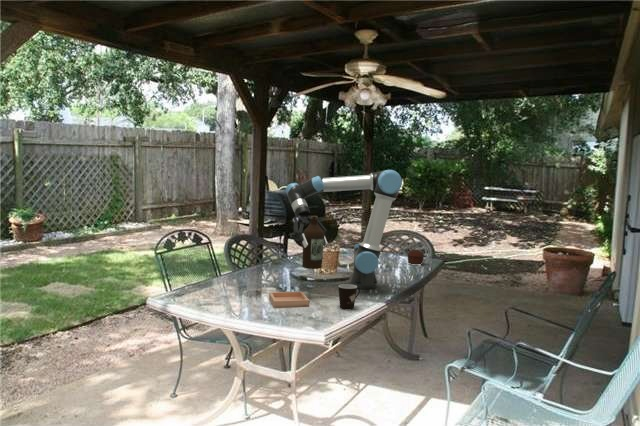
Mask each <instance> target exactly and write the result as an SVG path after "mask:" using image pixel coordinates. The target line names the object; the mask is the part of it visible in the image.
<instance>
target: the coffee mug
mask: <svg viewBox="0 0 640 426" xmlns="http://www.w3.org/2000/svg"><path fill="white" fill-rule="evenodd" d="M337 286H338V287H337V288H338V298H339V307H340V309H341V308H342V309H341V310H345V309H351V310H353V309H352V308H355V302H356V299H357V298H358V296H359V295H360V293H361V289H360V288H359V287H357V286H356V285H351V284H350V283H345V284H344V283H343V284H342V283H341V284H339V285H337ZM357 291H358V292H357Z"/></svg>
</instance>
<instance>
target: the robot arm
mask: <svg viewBox="0 0 640 426" xmlns="http://www.w3.org/2000/svg"><path fill="white" fill-rule="evenodd" d="M402 184H403V180H402V177H401V175H400V174H399V173H398V172H397V171H396V170H394V169H384V170H381V171H378V172H377V171H376V172H370V173H369V174H363V175H347V176H335V177H334V176H333V177H322V178H321V176H319V175H316V176H314V177H312V178H310V179H308V180H307V181H304V182H303V183H300V184H299V183H297V182H293V183H292V182H291V183H289V184H288V185H287V186H286V187H285V192H286V196H287V198H288V202H290V205H291V209H292V211H293V212H294V215H295V216H293V218H292V220H291V221H292V223H293V235H294V236H296V237H297V238H298V239H299V241H300V242H302V246H303V245H304V248H306V247H307V245H308V243H307V240H306V238H305V236H304V233H303V231H304V226H307V227H308V226H309V225H310V224H311V216H312V215H311V211H310V209H309V205H308V203H307V201H306V198H308V197H310V196H313V195H315V194H317V193H326V192H329V193H330V192H342V191H343V192H344V191H358V190H371V191H373V193H374V196H375V200H374V202H373V206H372V209H371V213H370V217H369V220H368V224H367V227H366V231H365V233H364V238H363V239H362V240H363V241H361V242H360V243H356V244H354V247H353V271H352V275H351V276H350V280H349V284H351V285H356V286H357V287H359V288H360V290H361V289H362V290H369V289H370V290H372V289H376V288H378V280H377V276H376V270H377V269H378V267H379V259H380V255H381V252H382V249H381V247H380V245H381V241H382V238H383V234H384V231H385V228H386V224H387V220H388V217H389V214H390V211H391V207H392V204H393V202H395V200H396V199H397V198H398V193H399V191H400V189H401V187H402V186H403V185H402ZM317 219H318V225H319V227H320V228H321V229H322V230H323V232H324V246H323V248H326V246H327V245H328V244H329V243H328V241H327V236H326V233H327V232H328V229H327V228H326V227H325V226H324V225H323V223H322V222H321V221H320V220H319V217H318V218H317Z"/></svg>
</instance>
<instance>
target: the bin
mask: <svg viewBox="0 0 640 426" xmlns="http://www.w3.org/2000/svg"><path fill="white" fill-rule="evenodd" d="M268 299H269V301H270V303H271V305H272V307H273V308H274V309H280V308H307V307H310V299H309V298H308V297H307V296H306V294H305V293H304V291H275V292H274V291H269V293H268Z"/></svg>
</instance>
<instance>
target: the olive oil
mask: <svg viewBox="0 0 640 426" xmlns="http://www.w3.org/2000/svg"><path fill="white" fill-rule="evenodd" d="M317 218H318V219H319V217H318V215H311V224H310V225H309V226H307V227H306V228H305V229H303V231H302V234H303V233H304V236H305V238H306V240H307V243H308V245H307V247H306V248H304V245H303V244H302V263H301V264H302V268H304V269H309V270H318V269H322V268H323V267H322V266H323V258H324V256H323V255H324V254H323V253H324V232H323V230H322V229H321V228H320V227H319V225H318V219H317Z"/></svg>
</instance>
